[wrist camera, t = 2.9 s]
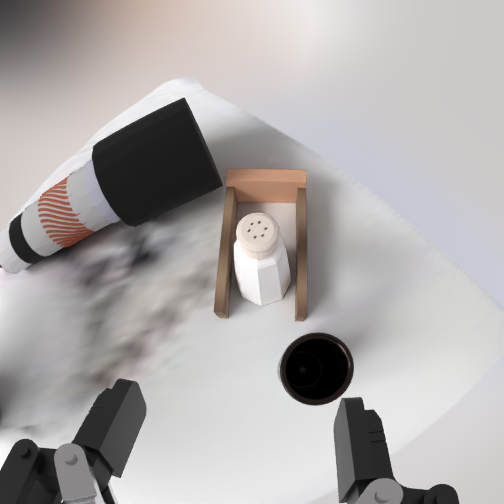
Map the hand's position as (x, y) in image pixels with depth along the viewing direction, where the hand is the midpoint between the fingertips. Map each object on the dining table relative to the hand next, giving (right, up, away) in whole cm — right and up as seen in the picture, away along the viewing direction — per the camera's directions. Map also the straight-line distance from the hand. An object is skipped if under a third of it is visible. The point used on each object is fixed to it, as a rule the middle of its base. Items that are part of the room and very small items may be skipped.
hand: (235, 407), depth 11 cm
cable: (-19, +9, +24) cm, 32 cm away
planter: (+5, -5, +16) cm, 17 cm away
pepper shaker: (+2, +3, +19) cm, 20 cm away
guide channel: (+2, +6, +20) cm, 21 cm away
